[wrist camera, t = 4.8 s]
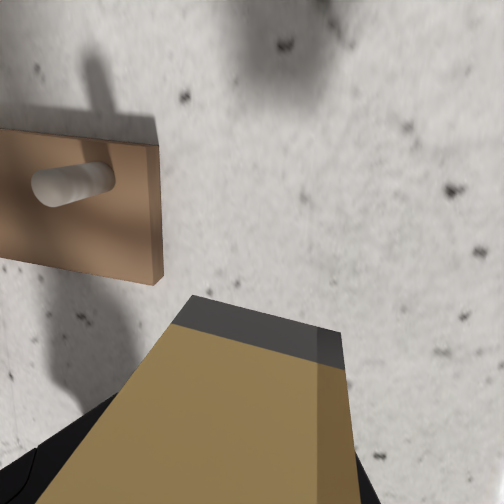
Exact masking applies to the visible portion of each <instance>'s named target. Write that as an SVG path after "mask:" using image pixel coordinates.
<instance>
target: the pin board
mask: <svg viewBox="0 0 504 504" xmlns="http://www.w3.org/2000/svg"><path fill="white" fill-rule="evenodd" d="M0 258H5V259H11V260H16V261H22V262H27V263H32V264H38V265H43V266H49V267H54V268H59V269H65V270H70V271H76V272H81V273H86V274H92V275H97V276H103V277H108V278H113V279H119V280H124V281H130V282H135V283H140V284H146V285H151V286H154V285H155V284H156V283H157V282H158V281H159V280H160V279H161V278H162V277H163V276H164V270H163V244H162V218H161V191H160V165H159V146H157V145H148V144H139V143H129V142H120V141H111V140H102V139H93V138H84V137H74V136H65V135H56V134H47V133H38V132H28V131H19V130H10V129H1V128H0Z"/></svg>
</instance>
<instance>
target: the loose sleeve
mask: <svg viewBox="0 0 504 504" xmlns="http://www.w3.org/2000/svg"><path fill="white" fill-rule="evenodd" d="M35 504H361V500H360V492H359V483H358V475H357V466H356V458H355V449H354V441H353V432H352V424H351V415H350V407H349V398H348V390H347V381H346V373H345V364H344V356H343V348H342V339H341V333H340V332H336V331H332V330H328V329H324V328H320V327H317V326H313V325H309V324H305V323H301V322H297V321H293V320H289V319H285V318H281V317H277V316H273V315H270V314H266V313H262V312H258V311H254V310H250V309H246V308H242V307H238V306H234V305H230V304H226V303H223V302H219V301H215V300H211V299H207V298H203V297H199V296H195V295H192V296H191V297H190V298H189V300H188V301H187V302H186V304H185V305H184V306H183V308H182V309H181V310H180V312H179V313H178V314H177V316H176V317H175V318H174V320H173V321H172V322H171V324H170V325H169V326H168V328H167V329H166V330H165V332H164V333H163V334H162V336H161V337H160V338H159V340H158V341H157V342H156V344H155V345H154V346H153V348H152V349H151V350H150V352H149V353H148V354H147V356H146V357H145V358H144V360H143V361H142V362H141V364H140V365H139V366H138V368H137V369H136V370H135V372H134V373H133V374H132V376H131V377H130V378H129V380H128V381H127V382H126V384H125V385H124V386H123V388H122V389H121V390H120V391H119V393H118V394H117V395H116V397H115V398H114V399H113V401H112V402H111V403H110V405H109V406H108V407H107V409H106V410H105V411H104V413H103V414H102V415H101V417H100V418H99V419H98V421H97V422H96V423H95V425H94V426H93V427H92V429H91V430H90V431H89V433H88V434H87V435H86V437H85V438H84V439H83V441H82V442H81V443H80V445H79V446H78V447H77V449H76V450H75V451H74V453H73V454H72V455H71V457H70V458H69V459H68V461H67V462H66V463H65V465H64V466H63V467H62V469H61V470H60V471H59V473H58V474H57V475H56V477H55V478H54V479H53V481H52V482H51V483H50V485H49V486H48V487H47V489H46V490H45V491H44V493H43V494H42V495H41V496H40V498H39V499H38V500H37V502H36V503H35Z"/></svg>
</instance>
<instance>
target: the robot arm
mask: <svg viewBox="0 0 504 504" xmlns="http://www.w3.org/2000/svg"><path fill="white" fill-rule="evenodd" d="M118 393H119V392H118ZM118 393H116V394H115V395H113V396H112V397H110V398H109V399H107V400H106V401H104V402H103V403H101V404H100V405H98V406H97V407H95V408H94V409H92V410H91V411H89V412H88V413H86V414H85V415H83V416H82V417H80V418H79V419H77V420H76V421H74V422H73V423H71V424H70V425H68V426H67V427H65V428H64V429H62V430H61V431H59V432H58V433H56V434H55V435H53V436H52V437H50V438H49V439H47V440H46V441H44V442H43V443H41V444H40V445H38V447H37V448H33V449H32V450H30V451H29V452H27V453H26V454H24V455H23V456H21V457H20V458H18V459H17V460H15V461H14V462H12V463H11V464H9V465H8V466H6V467H4V468H3V469H1V470H0V504H35V503H36V502H37V500H38V499H39V498H40V496H41V495H42V494H43V493H44V491H45V490H46V489H47V487H48V486H49V485H50V483H51V482H52V481H53V479H54V478H55V477H56V475H57V474H58V473H59V471H60V470H61V469H62V467H63V466H64V465H65V463H66V462H67V461H68V459H69V458H70V457H71V455H72V454H73V453H74V451H75V450H76V449H77V447H78V446H79V445H80V443H81V442H82V441H83V439H84V438H85V437H86V435H87V434H88V433H89V431H90V430H91V429H92V427H93V426H94V425H95V423H96V422H97V421H98V419H99V418H100V417H101V415H102V414H103V413H104V411H105V410H106V409H107V407H108V406H109V405H110V403H111V402H112V401H113V399H114V398H115V397H116V395H117V394H118ZM355 458H356V466H357V475H358V483H359V492H360V500H361V504H381V503H380V501H379V499H378V496H377V494H376V492H375V490H374V488H373V486H372V484H371V482H370V480H369V478H368V476H367V474H366V472H365V470H364V468H363V466H362V464H361V462H360V460H359V458H358V456H357V454H356V452H355Z"/></svg>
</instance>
